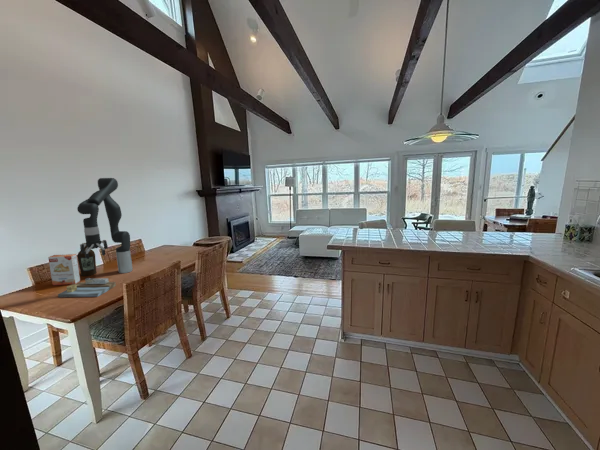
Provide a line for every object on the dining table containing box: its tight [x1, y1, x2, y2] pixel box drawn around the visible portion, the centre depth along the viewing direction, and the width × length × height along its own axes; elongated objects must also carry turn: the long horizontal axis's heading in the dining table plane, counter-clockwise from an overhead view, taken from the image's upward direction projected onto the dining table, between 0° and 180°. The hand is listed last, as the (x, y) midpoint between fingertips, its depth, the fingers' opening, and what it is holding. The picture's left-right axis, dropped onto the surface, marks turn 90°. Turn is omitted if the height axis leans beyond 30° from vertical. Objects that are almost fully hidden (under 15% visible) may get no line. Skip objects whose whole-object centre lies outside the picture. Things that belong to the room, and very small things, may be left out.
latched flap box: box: [57, 281, 117, 298], centre depth 167 cm, size 17×24×6 cm
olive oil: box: [76, 242, 97, 277], centre depth 198 cm, size 11×11×25 cm
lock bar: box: [84, 277, 110, 284], centre depth 173 cm, size 14×3×4 cm, turn 93°
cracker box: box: [47, 253, 81, 286], centre depth 179 cm, size 14×6×21 cm, turn 101°
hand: (95, 257), depth 170 cm, fingers open, 8 cm apart
